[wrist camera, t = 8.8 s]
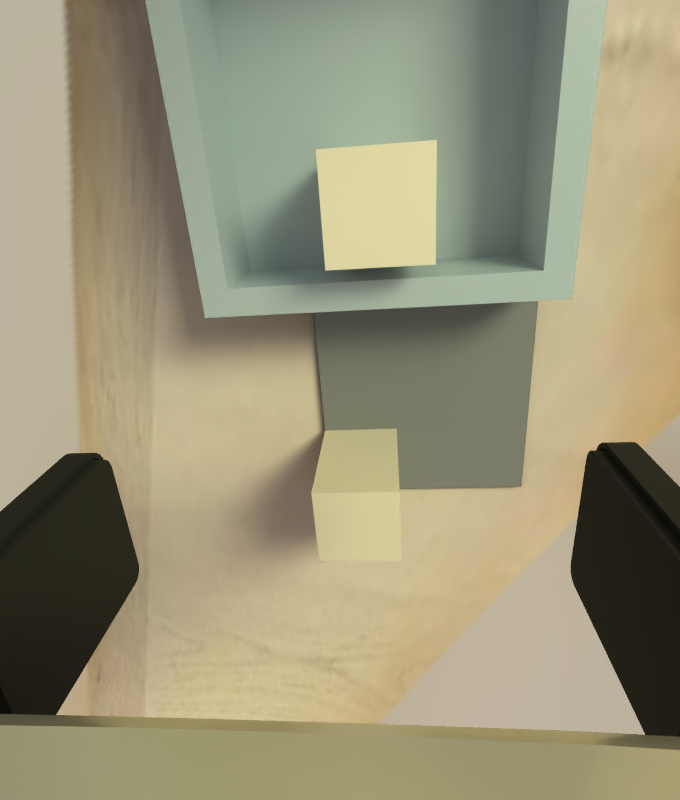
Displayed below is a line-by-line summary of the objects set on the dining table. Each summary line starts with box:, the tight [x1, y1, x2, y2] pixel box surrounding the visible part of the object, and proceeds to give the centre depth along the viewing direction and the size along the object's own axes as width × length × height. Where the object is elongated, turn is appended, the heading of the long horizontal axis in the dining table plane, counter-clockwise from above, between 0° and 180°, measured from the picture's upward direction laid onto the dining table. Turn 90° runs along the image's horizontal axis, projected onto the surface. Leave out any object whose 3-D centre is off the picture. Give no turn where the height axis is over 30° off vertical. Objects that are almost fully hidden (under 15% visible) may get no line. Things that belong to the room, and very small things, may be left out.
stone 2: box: [311, 429, 402, 561], centre depth 26 cm, size 4×4×6 cm
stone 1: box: [316, 140, 437, 271], centre depth 20 cm, size 4×4×6 cm
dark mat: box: [314, 301, 538, 489], centre depth 28 cm, size 11×11×1 cm
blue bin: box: [145, 0, 607, 318], centre depth 20 cm, size 15×15×4 cm
